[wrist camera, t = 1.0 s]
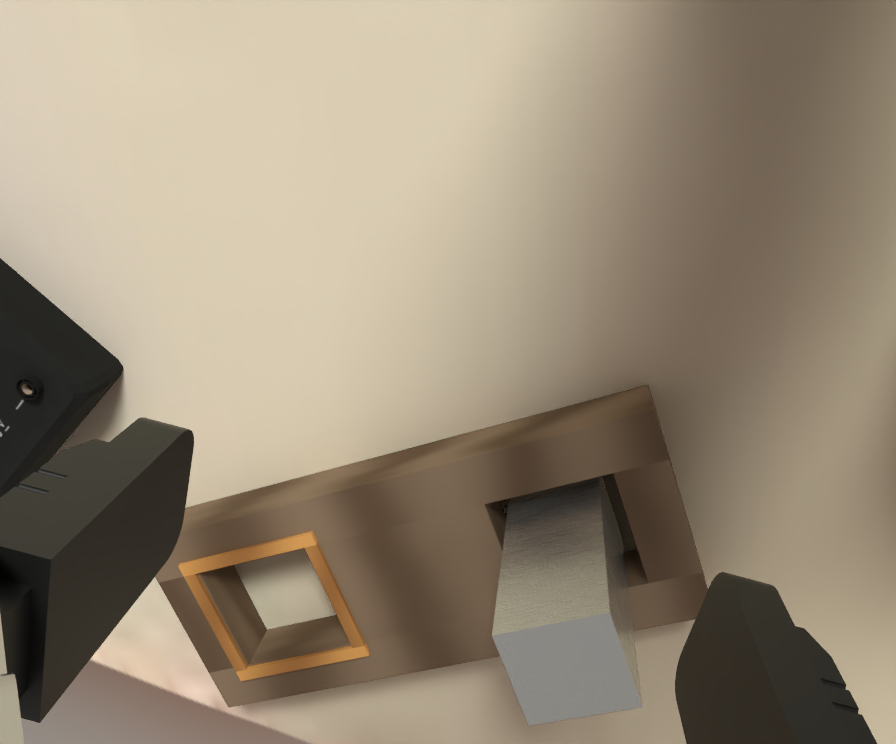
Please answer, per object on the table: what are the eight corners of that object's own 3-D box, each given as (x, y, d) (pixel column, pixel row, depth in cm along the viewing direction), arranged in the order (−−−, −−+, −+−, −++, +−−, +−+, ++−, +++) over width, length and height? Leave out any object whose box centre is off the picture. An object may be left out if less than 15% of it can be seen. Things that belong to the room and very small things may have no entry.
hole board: (648, 384, 33) (655, 412, 30) (705, 579, 36) (715, 618, 33) (162, 514, 39) (134, 545, 36) (247, 671, 42) (226, 710, 39)
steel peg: (597, 463, 34) (609, 612, 25) (622, 538, 36) (642, 707, 26) (510, 484, 35) (491, 635, 26) (537, 557, 37) (528, 726, 27)
